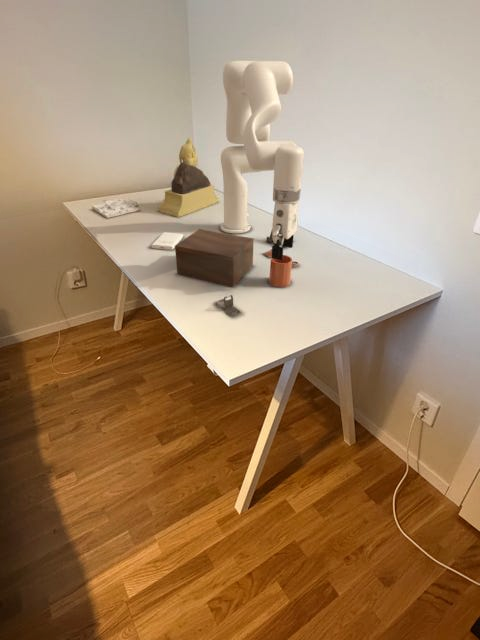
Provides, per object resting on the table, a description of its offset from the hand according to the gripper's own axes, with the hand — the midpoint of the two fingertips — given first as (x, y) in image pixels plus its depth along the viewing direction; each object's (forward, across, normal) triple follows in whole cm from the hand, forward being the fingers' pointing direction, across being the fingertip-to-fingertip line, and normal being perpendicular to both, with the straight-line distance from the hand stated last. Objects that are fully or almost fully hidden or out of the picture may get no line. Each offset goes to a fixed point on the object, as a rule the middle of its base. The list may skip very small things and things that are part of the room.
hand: (282, 252), depth 115 cm
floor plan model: (+9, +38, +95) cm, 103 cm away
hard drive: (+10, +12, +49) cm, 52 cm away
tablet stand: (+10, +31, +10) cm, 35 cm away
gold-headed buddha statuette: (+9, +54, +64) cm, 85 cm away
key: (+10, +16, +5) cm, 20 cm away
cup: (+10, 0, 0) cm, 10 cm away
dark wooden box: (+10, -1, +22) cm, 24 cm away
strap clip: (+11, -21, +8) cm, 25 cm away
